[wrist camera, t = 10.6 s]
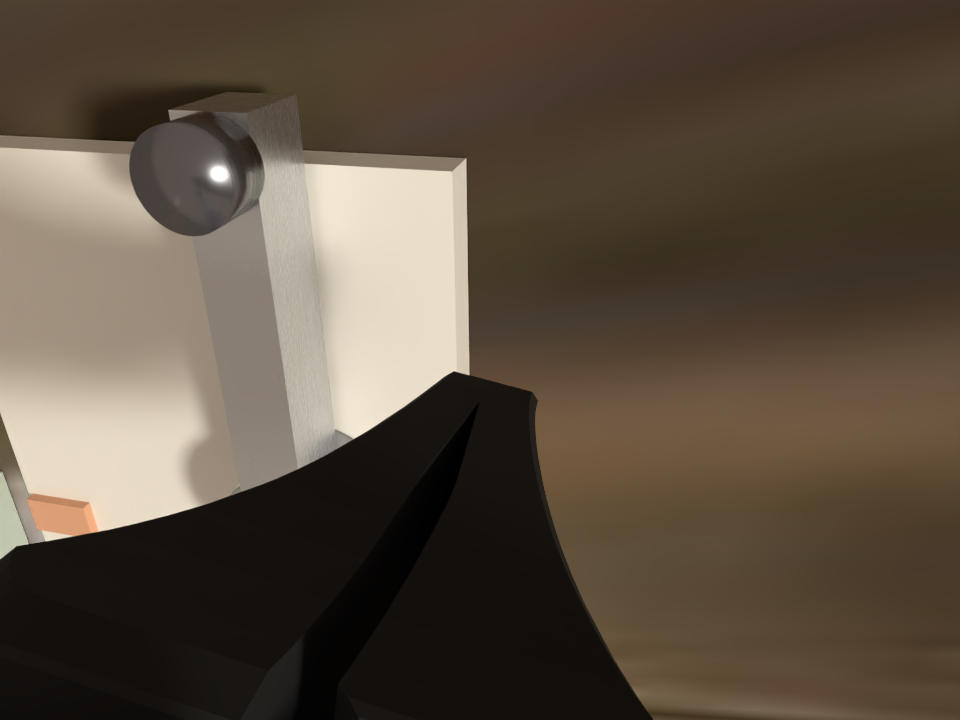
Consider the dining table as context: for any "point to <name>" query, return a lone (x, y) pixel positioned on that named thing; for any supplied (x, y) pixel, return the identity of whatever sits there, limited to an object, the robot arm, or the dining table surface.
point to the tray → (9, 521)
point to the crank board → (200, 322)
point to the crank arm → (249, 267)
